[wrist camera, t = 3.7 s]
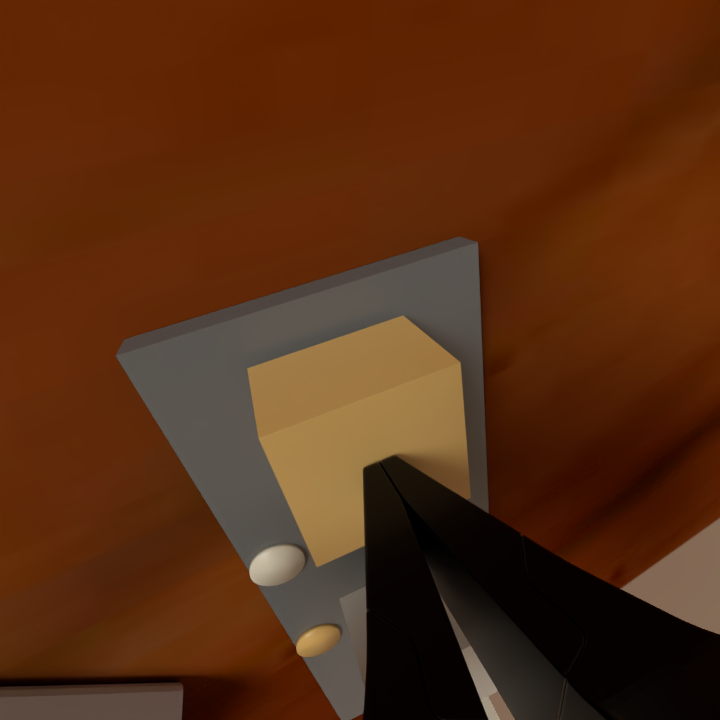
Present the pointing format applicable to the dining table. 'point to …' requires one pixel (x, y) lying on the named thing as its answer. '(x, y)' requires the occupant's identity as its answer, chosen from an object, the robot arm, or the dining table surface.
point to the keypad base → (240, 437)
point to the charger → (93, 702)
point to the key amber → (358, 424)
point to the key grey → (356, 626)
